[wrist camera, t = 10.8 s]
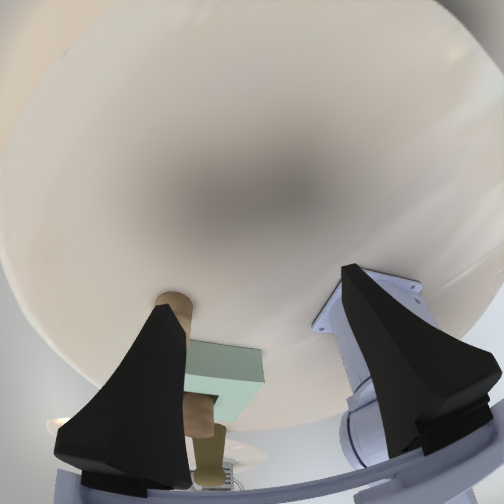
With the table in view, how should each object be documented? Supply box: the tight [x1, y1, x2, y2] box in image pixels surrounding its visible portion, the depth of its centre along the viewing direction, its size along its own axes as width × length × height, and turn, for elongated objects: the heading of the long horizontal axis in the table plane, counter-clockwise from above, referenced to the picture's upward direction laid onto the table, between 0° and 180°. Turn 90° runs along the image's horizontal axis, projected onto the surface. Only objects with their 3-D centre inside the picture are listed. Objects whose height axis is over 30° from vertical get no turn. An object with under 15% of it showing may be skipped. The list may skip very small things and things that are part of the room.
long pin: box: [183, 391, 214, 438], centre depth 28 cm, size 3×3×8 cm
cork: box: [192, 423, 226, 487], centre depth 38 cm, size 6×6×11 cm
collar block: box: [183, 340, 265, 422], centre depth 29 cm, size 11×11×4 cm
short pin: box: [156, 292, 192, 348], centre depth 23 cm, size 3×3×4 cm
